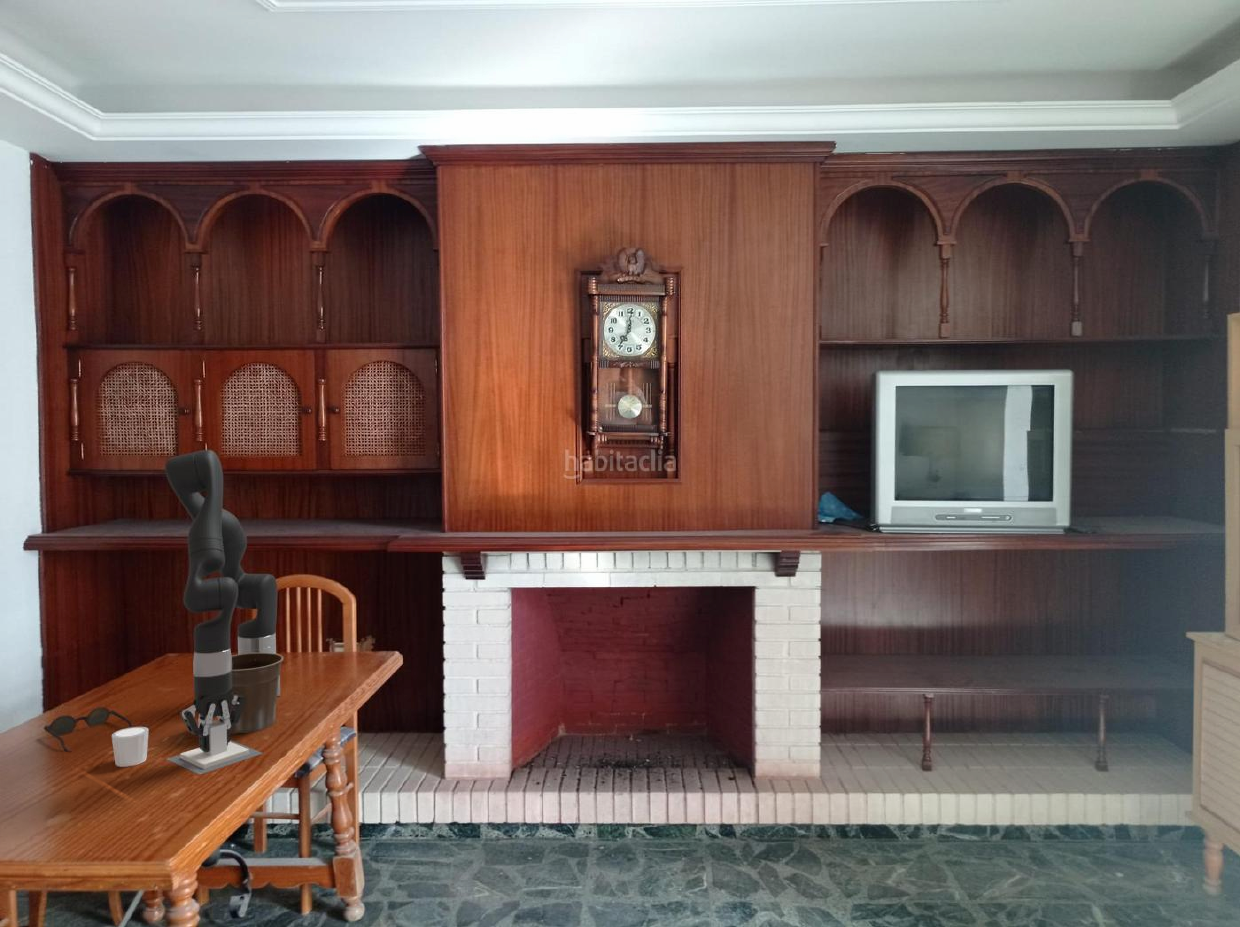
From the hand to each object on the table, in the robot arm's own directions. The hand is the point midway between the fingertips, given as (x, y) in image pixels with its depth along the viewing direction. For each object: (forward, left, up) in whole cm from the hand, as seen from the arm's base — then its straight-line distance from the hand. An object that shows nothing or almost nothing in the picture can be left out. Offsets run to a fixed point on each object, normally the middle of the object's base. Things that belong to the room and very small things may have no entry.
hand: (214, 747), depth 181 cm
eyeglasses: (+10, -37, -3) cm, 38 cm away
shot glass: (+12, -12, -3) cm, 17 cm away
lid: (0, 0, -2) cm, 2 cm away
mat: (0, 0, -2) cm, 2 cm away
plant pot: (-15, -13, -3) cm, 20 cm away
